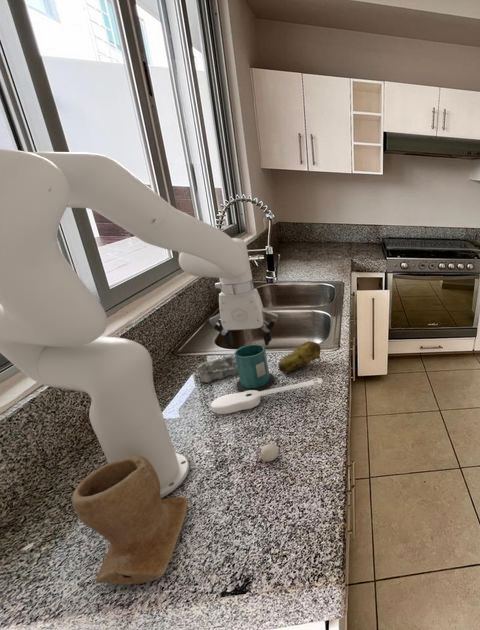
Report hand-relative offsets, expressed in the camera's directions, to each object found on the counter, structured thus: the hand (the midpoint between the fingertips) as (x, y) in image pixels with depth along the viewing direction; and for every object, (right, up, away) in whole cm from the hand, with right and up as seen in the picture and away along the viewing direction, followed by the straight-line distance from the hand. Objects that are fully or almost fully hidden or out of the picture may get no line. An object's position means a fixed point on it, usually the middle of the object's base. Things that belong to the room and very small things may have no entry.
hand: (249, 344), depth 96 cm
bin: (0, -12, +5) cm, 13 cm away
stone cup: (+2, -30, -39) cm, 50 cm away
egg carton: (-13, -10, +9) cm, 19 cm away
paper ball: (+15, -21, -22) cm, 35 cm away
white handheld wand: (+7, -15, -2) cm, 17 cm away
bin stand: (0, -12, +5) cm, 13 cm away
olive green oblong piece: (+10, -9, +13) cm, 19 cm away
